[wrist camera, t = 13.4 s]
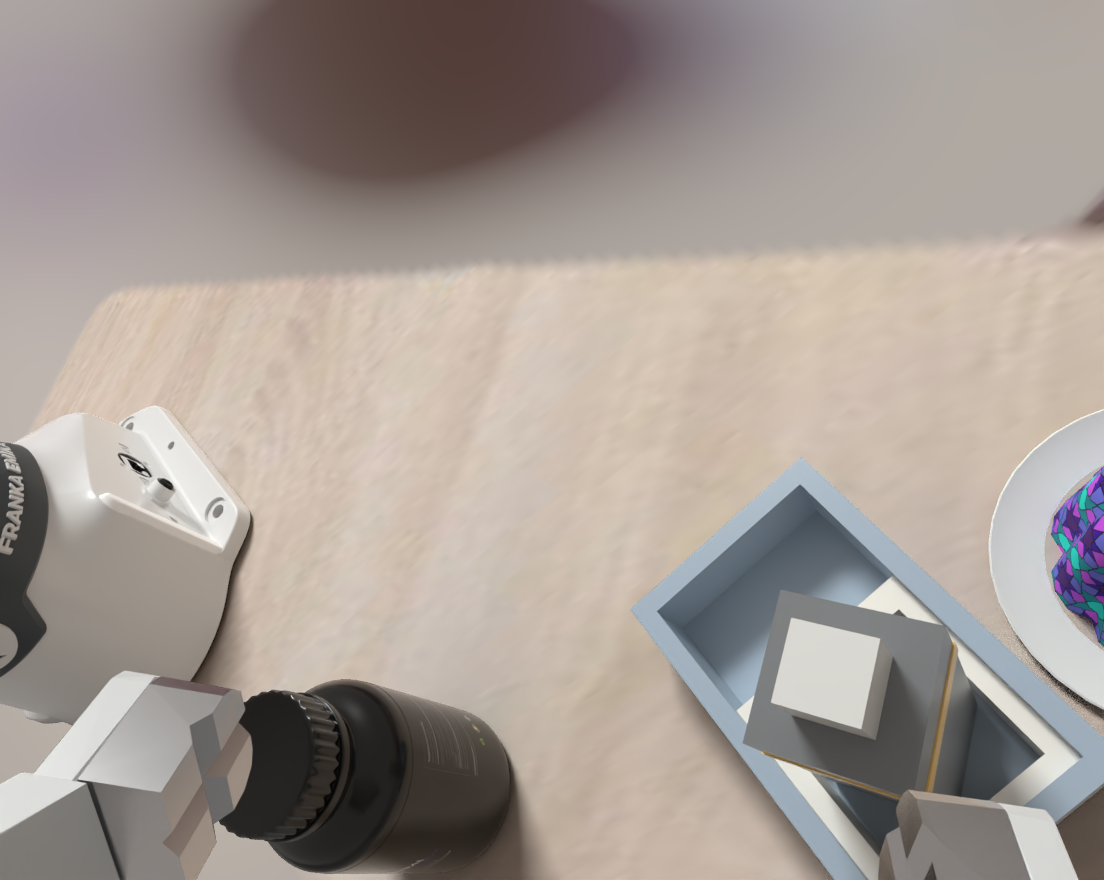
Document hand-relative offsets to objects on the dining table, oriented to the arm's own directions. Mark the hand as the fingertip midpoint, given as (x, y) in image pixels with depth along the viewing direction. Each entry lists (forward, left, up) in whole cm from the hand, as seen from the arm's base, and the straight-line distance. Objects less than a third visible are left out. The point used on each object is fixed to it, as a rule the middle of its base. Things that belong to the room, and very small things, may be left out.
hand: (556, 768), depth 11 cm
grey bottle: (-1, +3, -24) cm, 24 cm away
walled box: (-4, +3, -25) cm, 25 cm away
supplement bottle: (-12, -14, -25) cm, 31 cm away
